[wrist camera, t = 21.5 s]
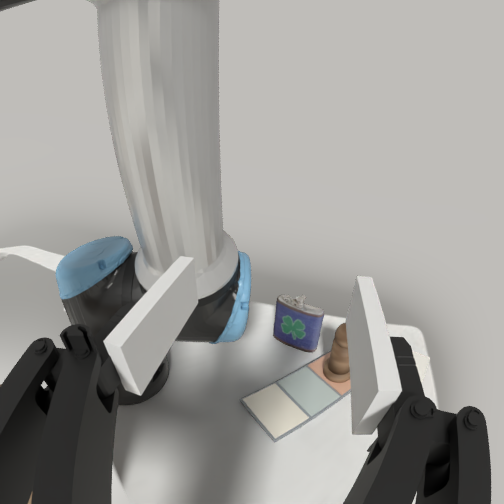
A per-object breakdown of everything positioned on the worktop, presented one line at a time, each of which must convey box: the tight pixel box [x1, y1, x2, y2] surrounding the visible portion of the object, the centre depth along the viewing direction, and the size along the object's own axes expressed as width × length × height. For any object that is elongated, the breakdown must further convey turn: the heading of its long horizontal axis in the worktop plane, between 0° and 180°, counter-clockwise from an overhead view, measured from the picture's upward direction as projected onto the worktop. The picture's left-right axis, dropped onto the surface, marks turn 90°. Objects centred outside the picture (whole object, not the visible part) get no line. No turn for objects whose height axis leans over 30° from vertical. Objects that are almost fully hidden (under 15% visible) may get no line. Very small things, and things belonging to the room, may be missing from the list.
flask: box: [273, 295, 324, 352], centre depth 48 cm, size 9×3×11 cm, turn 54°
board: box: [240, 351, 351, 442], centre depth 39 cm, size 9×20×1 cm, turn 123°
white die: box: [412, 351, 430, 383], centre depth 37 cm, size 6×6×6 cm
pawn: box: [323, 323, 350, 383], centre depth 40 cm, size 5×5×10 cm
